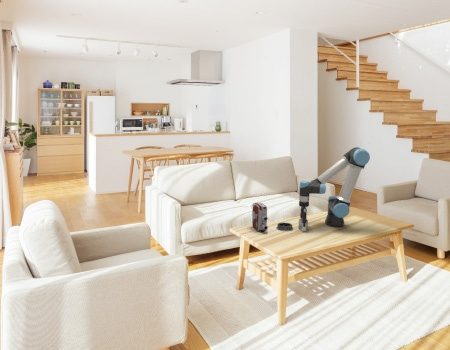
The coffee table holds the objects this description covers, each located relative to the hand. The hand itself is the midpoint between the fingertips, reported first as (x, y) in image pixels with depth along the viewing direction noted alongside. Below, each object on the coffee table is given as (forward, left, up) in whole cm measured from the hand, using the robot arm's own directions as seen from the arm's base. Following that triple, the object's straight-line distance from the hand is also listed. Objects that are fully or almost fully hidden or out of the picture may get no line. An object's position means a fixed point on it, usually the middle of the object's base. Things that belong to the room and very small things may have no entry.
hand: (302, 228), depth 305 cm
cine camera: (+33, +6, 0) cm, 34 cm away
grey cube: (0, 0, 0) cm, 0 cm away
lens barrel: (+14, +1, 0) cm, 14 cm away
